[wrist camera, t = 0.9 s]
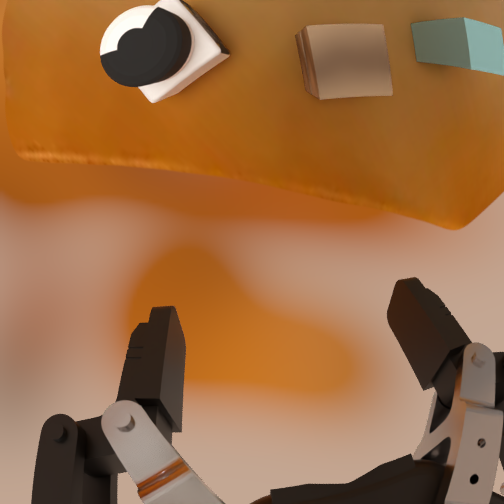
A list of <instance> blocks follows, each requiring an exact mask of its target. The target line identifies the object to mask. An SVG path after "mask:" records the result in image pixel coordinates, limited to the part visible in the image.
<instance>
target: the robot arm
mask: <svg viewBox="0 0 504 504" xmlns="http://www.w3.org/2000/svg"><path fill="white" fill-rule="evenodd" d="M387 319H388V323H389V326H390V328H391V329H392V331H393V333H394V335H395V337H396V338H397V340H398V342H399V344H400V346H401V348H402V350H403V351H404V353H405V355H406V357H407V359H408V361H409V363H410V365H411V367H412V369H413V371H414V373H415V375H416V377H417V379H418V380H419V383H420V385H421V387H422V389H423V390H427V389H429V388H432V387H434V388H435V390H436V392H435V393H434V395H433V399H432V404H431V408H430V412H429V417H428V421H427V425H426V429H425V432H424V436H423V438H422V440H421V442H420V444H419V445H418V447H417V449H416V451H415V453H414V455H413V457H412V455H411V454H409V455H406V456H404V457H401V458H398V459H396V460H393V461H390V462H387V463H384V464H382V465H380V466H378V467H376V468H375V469H373V470H371V471H370V472H368V473H366V474H365V475H363V476H361V477H359V478H358V479H356V480H354V481H352V482H350V483H346V484H304V485H299V486H293V487H286V488H279V489H272V490H270V491H271V492H270V495H268V496H265V497H262V498H260V499H258V500H256V501H254V502H252V503H250V504H504V497H503V496H501V495H499V494H497V493H495V492H493V491H492V490H493V486H494V481H495V476H496V471H497V466H498V459H499V458H500V461H501V464H502V467H503V470H504V352H492V351H491V350H490V349H489V348H488V347H487V346H485V345H483V344H481V343H472V342H471V341H470V339H469V338H468V336H467V335H466V333H465V332H464V330H463V329H462V328H461V326H460V325H459V323H458V322H457V321H456V319H455V318H454V316H453V315H451V312H450V311H449V310H448V308H447V307H445V304H444V303H443V302H442V301H441V299H440V298H439V296H438V295H436V294H435V293H434V292H432V291H431V290H429V289H428V288H427V289H426V288H425V287H424V286H423V284H422V283H421V282H420V280H419V279H417V278H416V277H413V278H407V279H402V280H398V281H397V282H396V284H395V287H394V290H393V294H392V297H391V300H390V304H389V307H388V310H387ZM128 348H129V349H128V350H127V354H126V360H125V363H124V367H123V372H122V376H121V381H120V386H119V391H118V396H117V399H116V402H115V403H113V404H112V405H110V406H109V407H108V408H107V409H106V410H105V412H104V414H103V415H101V416H99V417H95V418H91V419H86V420H81V421H77V422H75V421H74V420H73V419H72V418H71V417H69V416H68V415H65V414H57V415H53V416H51V417H50V418H49V419H47V421H46V422H45V423H44V425H43V427H42V430H41V435H40V441H39V446H38V452H37V459H36V465H35V472H34V481H33V490H32V502H31V504H117V476H118V473H123V472H128V473H129V475H130V476H131V478H132V479H133V481H134V482H135V484H136V485H137V487H138V495H139V497H140V499H141V500H142V502H143V503H144V504H225V503H224V502H223V501H222V500H221V499H220V498H219V497H218V496H217V495H216V494H215V493H214V492H213V491H212V490H211V489H210V488H209V487H208V486H207V485H206V484H205V483H204V482H203V481H202V479H201V478H200V477H199V476H198V475H197V474H196V473H195V472H194V471H193V470H192V468H191V467H190V466H189V465H188V464H187V463H186V462H185V460H184V459H183V458H182V457H181V456H180V454H179V453H178V452H177V451H176V450H175V448H174V447H173V446H172V432H182V407H183V385H184V370H185V369H184V368H185V355H186V353H185V352H186V346H185V338H184V334H183V331H182V328H181V325H180V321H179V318H178V315H177V311H176V309H175V307H174V306H163V307H153V308H152V310H151V313H150V318H149V322H148V323H139V325H138V326H137V328H136V329H135V330H134V331H133V333H132V334H131V338H130V342H129V346H128ZM500 492H501V494H503V495H504V483H503V484H502V486H501V488H500Z"/></svg>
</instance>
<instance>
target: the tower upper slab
mask: <svg viewBox="0 0 504 504" xmlns="http://www.w3.org/2000/svg"><path fill="white" fill-rule="evenodd" d="M300 33H301V37H302V42H303V47H304V52H305V57H306V62H307V67H308V73H309V79H310V84H311V90H312V95H314V96H315V97H317V98H318V99H320V100H322V99H332V98H345V97H362V96H393V90H392V81H391V72H390V64H389V57H388V50H387V44H386V38H385V32H384V27H383V24H325V25H310V26H306V27H304V28H303V29H302V30H301V31H300Z"/></svg>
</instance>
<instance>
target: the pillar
mask: <svg viewBox="0 0 504 504" xmlns="http://www.w3.org/2000/svg"><path fill="white" fill-rule="evenodd" d="M411 28H412V34H413V40H414V46H415V53H416V60H417V62H426V63H434V64H442V65H449V66H455V67H461V68H467V69H472V70H478V71H484V72H489V73H494V74H499V75H503V76H504V45H503V38H502V31H501V28H499V27H496V26H492V25H489V24H486V23H483V22H479V21H476V20H472V19H468V18H464V17H463V18H450V19H440V20H431V21H424V22H417V23H411Z"/></svg>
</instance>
